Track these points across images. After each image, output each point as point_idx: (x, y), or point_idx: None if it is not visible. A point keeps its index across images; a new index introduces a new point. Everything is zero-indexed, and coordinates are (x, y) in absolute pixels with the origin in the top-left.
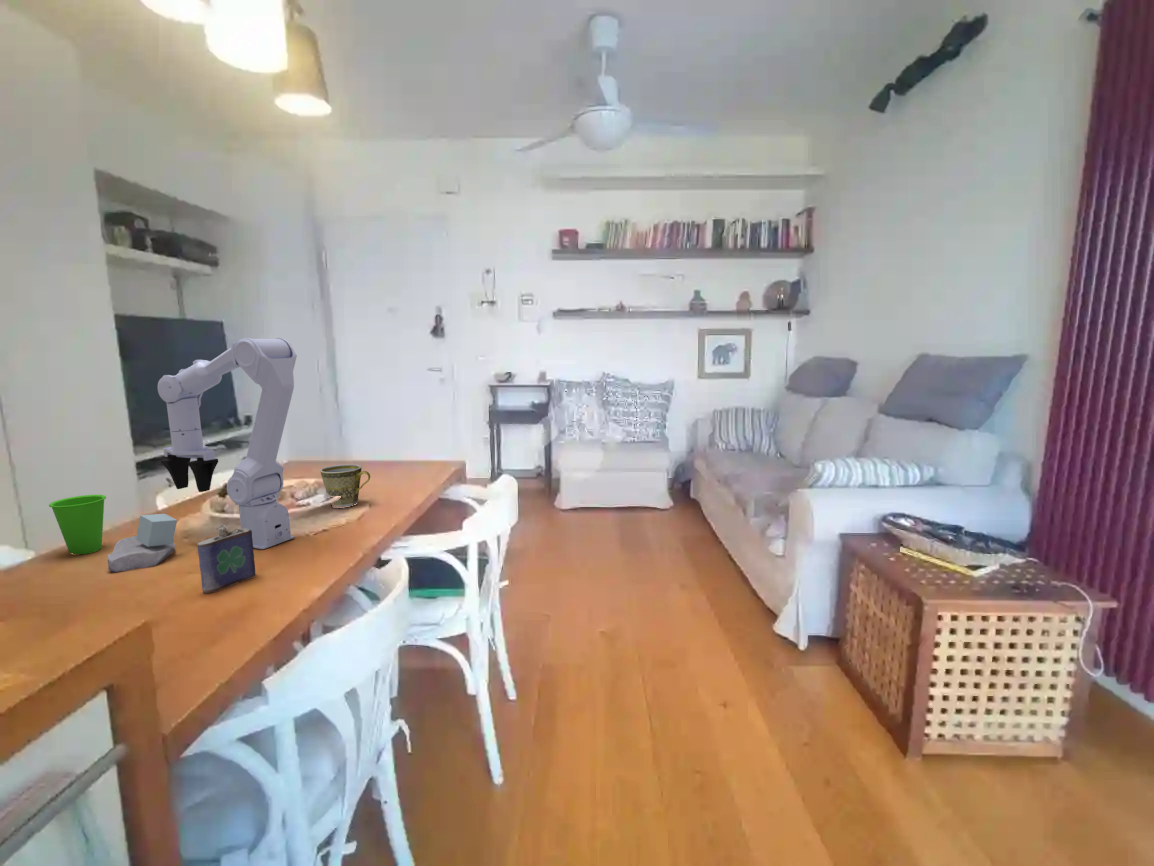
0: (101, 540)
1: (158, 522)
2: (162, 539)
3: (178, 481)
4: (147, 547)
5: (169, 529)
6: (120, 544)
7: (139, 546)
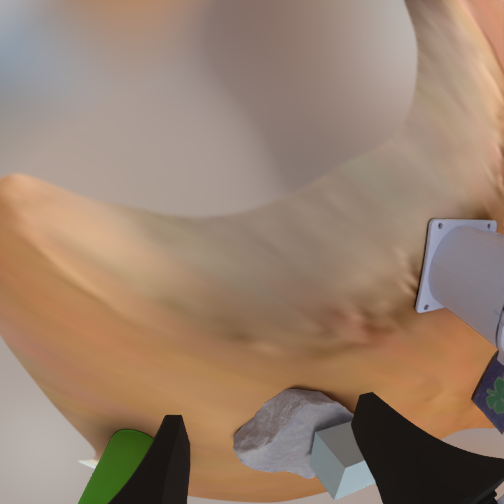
0: (146, 447)
1: None
2: None
3: (186, 474)
4: None
5: None
6: (274, 468)
7: None
